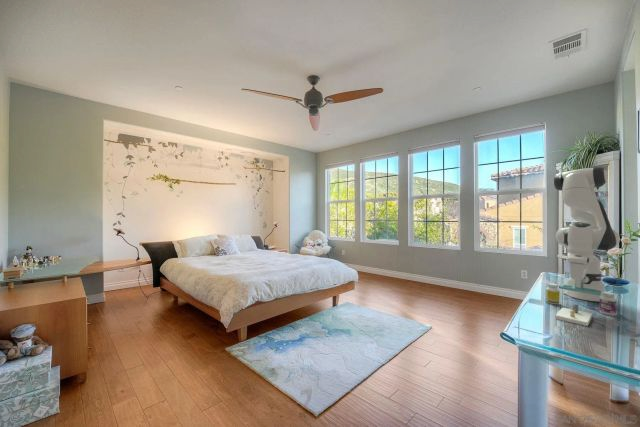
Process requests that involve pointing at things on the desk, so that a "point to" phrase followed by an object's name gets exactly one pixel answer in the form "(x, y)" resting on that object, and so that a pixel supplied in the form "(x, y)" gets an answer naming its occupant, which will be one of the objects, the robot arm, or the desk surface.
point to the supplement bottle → (552, 294)
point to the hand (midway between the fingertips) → (579, 285)
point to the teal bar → (580, 289)
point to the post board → (574, 316)
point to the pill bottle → (608, 304)
